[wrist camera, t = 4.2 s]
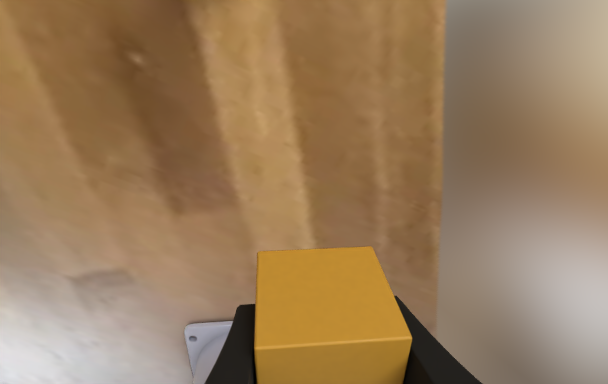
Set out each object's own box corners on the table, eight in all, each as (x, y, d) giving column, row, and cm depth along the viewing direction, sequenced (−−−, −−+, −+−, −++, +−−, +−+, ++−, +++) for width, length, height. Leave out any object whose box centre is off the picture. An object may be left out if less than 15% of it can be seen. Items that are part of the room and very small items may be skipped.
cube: (362, 328, 14) (393, 431, 11) (261, 334, 14) (260, 444, 11) (372, 245, 13) (414, 337, 9) (257, 250, 12) (253, 349, 9)
